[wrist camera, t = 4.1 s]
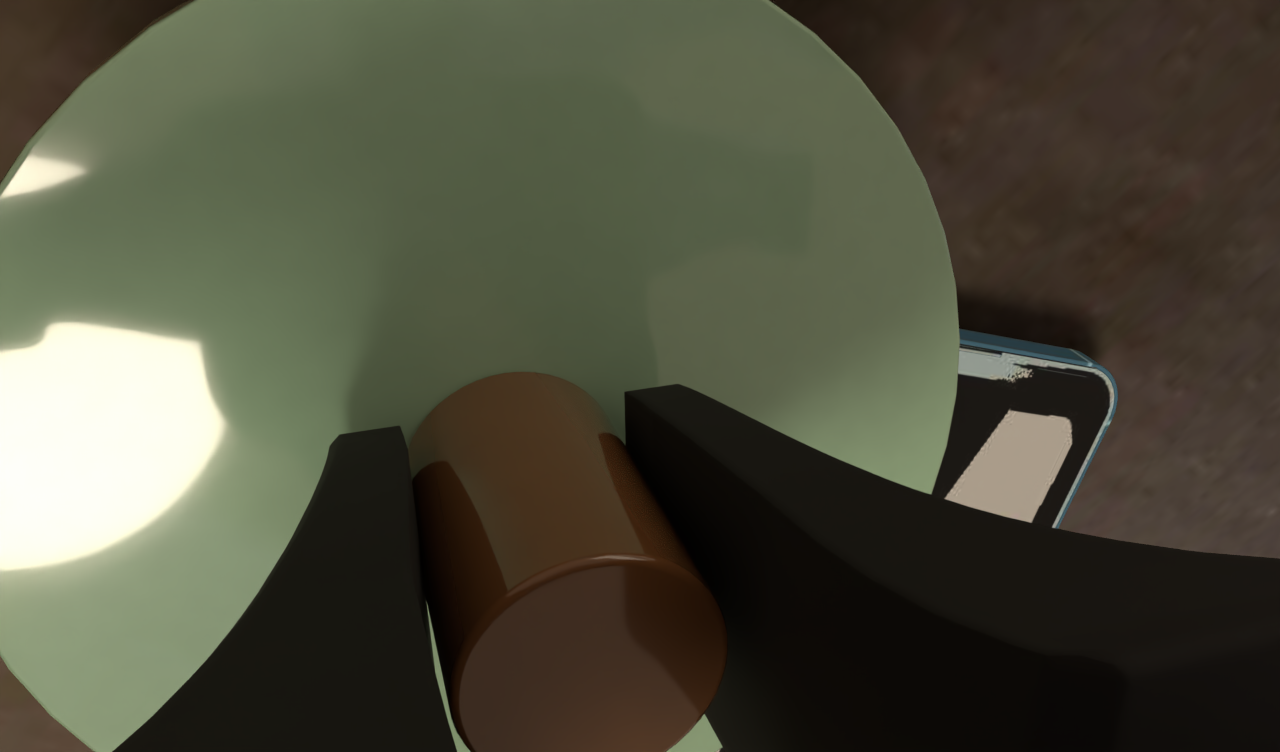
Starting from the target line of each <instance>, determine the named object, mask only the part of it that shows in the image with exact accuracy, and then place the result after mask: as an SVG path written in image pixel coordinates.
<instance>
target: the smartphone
mask: <svg viewBox="0 0 1280 752" xmlns="http://www.w3.org/2000/svg"><path fill="white" fill-rule="evenodd" d="M959 335H960V347H959V364H958V380H957V395H956V400H955V405H954V411H953V416H952V421H951V426H950V432H949V437H948V442H947V447H946V450H945V453H944V456H943V460H942V463H941V466H940V469H939V472H938V475H937V479H936V482H935V485H934V488H933V491H932V494H931V495H934V496H937V497H940V498H943V499H946V500H950V501H953V502H956V503H959V504H962V505H965V506H968V507H972V508H975V509H979V510H982V511H986V512H990V513H994V514H997V515H1001V516H1005V517H1009V518H1013V519H1017V520H1022V521H1026V522H1030V523H1035V524H1039V525H1043V526H1048V527H1052V528H1056V529H1058V528H1059V526H1060V523H1061V521H1062V519H1063V517H1064V515H1065V513H1066V511H1067V509H1068V507H1069V505H1070V503H1071V501H1072V499H1073V497H1074V495H1075V493H1076V491H1077V489H1078V487H1079V485H1080V483H1081V481H1082V479H1083V477H1084V475H1085V473H1086V471H1087V469H1088V467H1089V465H1090V463H1091V461H1092V459H1093V457H1094V455H1095V453H1096V451H1097V449H1098V447H1099V445H1100V443H1101V441H1102V438H1103V436H1104V434H1105V432H1106V430H1107V428H1108V426H1109V424H1110V422H1111V420H1112V418H1113V416H1114V413H1115V410H1116V406H1117V398H1118V393H1117V386H1116V383H1115V380H1114V378H1113V376H1112V375H1111V373H1110V372H1109V371H1108V370H1107V369H1106V368H1104V367H1103V366H1101V365H1100V364H1098V363H1097V362H1095V361H1094V360H1092V359H1091V358H1089V357H1088V356H1086V355H1085V354H1083V353H1081V352H1080V351H1076V350H1073V349H1068V348H1063V347H1058V346H1052V345H1047V344H1041V343H1036V342H1030V341H1025V340H1019V339H1014V338H1008V337H1003V336H997V335H992V334H986V333H981V332H975V331H970V330H964V329H959ZM717 752H725V750H724V749H723V748H721V749H720V750H718V751H717Z"/></svg>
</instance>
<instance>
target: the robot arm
mask: <svg viewBox="0 0 1280 752" xmlns="http://www.w3.org/2000/svg"><path fill="white" fill-rule="evenodd" d="M624 399H625V442H626V448H627V449H628V451H629V453H630V454H631V456H632V458H633V459H634V461H635V463H636V464H637V466H638V468H639V469H640V471H641V473H642V475H643V476H644V478H645V480H646V481H647V483H648V485H649V486H650V488H651V490H652V491H653V493H654V495H655V496H656V498H657V500H658V501H659V503H660V505H661V506H662V508H663V510H664V512H665V513H666V515H667V517H668V518H669V520H670V522H671V523H672V525H673V527H674V528H675V530H676V532H677V533H678V535H679V537H680V538H681V540H682V542H683V543H684V545H685V547H686V549H687V550H688V552H689V554H690V555H691V557H692V559H693V560H694V562H695V564H696V565H697V567H698V569H699V570H700V572H701V574H702V575H703V577H704V579H705V580H706V582H707V584H708V585H709V587H710V589H711V591H712V592H713V594H714V596H715V597H716V599H717V601H718V602H719V604H720V607H721V609H722V612H723V614H724V617H725V621H726V626H727V632H728V654H727V664H726V668H725V672H724V676H723V679H722V682H721V684H720V687H719V689H718V692H717V694H716V695H715V697H714V699H713V701H712V703H711V705H710V706H709V708H708V709H707V711H706V712H705V713H704V714H705V716H706V718H707V719H708V721H709V723H710V725H711V727H712V729H713V730H714V732H715V734H716V736H717V738H718V739H719V741H720V743H721V745H722V747H723V749H724V750H725V752H1280V559H1277V558H1265V557H1252V556H1240V555H1228V554H1216V553H1203V552H1195V551H1187V550H1180V549H1173V548H1166V547H1159V546H1152V545H1145V544H1139V543H1132V542H1125V541H1118V540H1113V539H1107V538H1102V537H1096V536H1091V535H1085V534H1080V533H1075V532H1070V531H1065V530H1061V529H1056V528H1052V527H1048V526H1043V525H1039V524H1035V523H1030V522H1026V521H1022V520H1017V519H1013V518H1009V517H1005V516H1001V515H997V514H994V513H990V512H986V511H982V510H979V509H975V508H972V507H968V506H965V505H962V504H959V503H956V502H953V501H950V500H946V499H943V498H940V497H937V496H934V495H931V494H928V493H925V492H921V491H918V490H915V489H912V488H910V487H907V486H904V485H901V484H899V483H896V482H893V481H890V480H888V479H885V478H883V477H880V476H878V475H875V474H873V473H871V472H868V471H866V470H863V469H861V468H858V467H856V466H854V465H851V464H849V463H846V462H844V461H841V460H839V459H837V458H835V457H832V456H830V455H828V454H826V453H823V452H821V451H819V450H817V449H815V448H812V447H810V446H808V445H806V444H804V443H802V442H800V441H797V440H795V439H793V438H791V437H789V436H787V435H785V434H783V433H781V432H779V431H777V430H775V429H773V428H771V427H769V426H767V425H765V424H763V423H761V422H759V421H757V420H755V419H753V418H751V417H749V416H747V415H745V414H743V413H741V412H739V411H737V410H735V409H733V408H731V407H729V406H727V405H725V404H723V403H721V402H719V401H717V400H715V399H713V398H711V397H709V396H707V395H704V394H702V393H700V392H698V391H696V390H693V389H691V388H688V387H686V386H683V385H680V384H673V385H666V386H659V387H653V388H646V389H639V390H633V391H626V392H624ZM112 752H457V749H456V746H455V743H454V739H453V736H452V732H451V729H450V726H449V722H448V719H447V715H446V711H445V708H444V704H443V700H442V696H441V692H440V689H439V685H438V681H437V677H436V674H435V665H434V657H433V649H432V641H431V633H430V625H429V617H428V609H427V600H426V596H425V591H424V586H423V578H422V568H421V556H420V544H419V535H418V527H417V519H416V511H415V503H414V495H413V487H412V479H411V470H410V462H409V454H408V448H407V445H406V442H405V438H404V435H403V433H402V430H401V427H400V425H399V426H392V427H386V428H379V429H372V430H366V431H359V432H352V433H346V434H339V435H338V437H337V438H336V439H335V440H334V441H333V442H332V444H331V445H330V446H329V451H328V456H327V459H326V462H325V466H324V469H323V471H322V474H321V477H320V479H319V482H318V484H317V486H316V489H315V491H314V493H313V496H312V498H311V500H310V502H309V504H308V506H307V508H306V510H305V512H304V514H303V516H302V518H301V520H300V522H299V524H298V526H297V528H296V530H295V532H294V534H293V536H292V538H291V539H290V541H289V543H288V545H287V547H286V548H285V550H284V552H283V553H282V555H281V556H280V558H279V560H278V561H277V563H276V564H275V566H274V568H273V569H272V571H271V572H270V574H269V576H268V577H267V579H266V580H265V582H264V584H263V585H262V587H261V588H260V590H259V592H258V593H257V595H256V596H255V598H254V599H253V600H252V602H251V603H250V605H249V606H248V607H247V609H246V610H245V612H244V613H243V614H242V616H241V617H240V618H239V620H238V621H237V622H236V624H235V625H234V626H233V628H232V629H231V630H230V632H229V633H228V634H227V635H226V636H225V638H224V639H223V640H222V641H221V643H220V644H219V645H218V646H217V648H216V649H215V650H214V651H213V653H212V654H211V655H210V656H209V657H208V659H207V660H206V661H205V662H204V663H203V664H202V665H201V666H200V667H199V669H198V670H197V671H196V672H195V673H194V674H193V675H192V676H191V677H190V678H189V679H188V680H187V681H186V682H185V683H184V684H183V685H182V686H181V687H180V688H179V689H178V690H177V691H176V693H175V694H174V695H173V696H172V697H171V698H170V699H169V700H168V701H167V702H166V703H165V704H164V705H163V706H162V707H161V708H160V709H159V710H158V711H157V712H156V713H155V714H154V715H153V716H152V717H151V718H150V719H149V720H147V721H146V722H145V723H144V724H143V725H142V726H141V727H140V728H139V729H137V730H136V731H135V732H134V733H133V734H132V735H131V736H129V737H128V738H127V739H126V740H125V741H124V742H123V743H121V744H120V745H119V746H118V747H117V748H116V749H115V750H113V751H112Z"/></svg>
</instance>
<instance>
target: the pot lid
mask: <svg viewBox="0 0 1280 752" xmlns="http://www.w3.org/2000/svg"><path fill="white" fill-rule="evenodd" d="M959 347H960V335H959V320H958V306H957V292H956V284H955V279H954V274H953V269H952V265H951V260H950V255H949V250H948V246H947V241H946V236H945V232H944V229H943V226H942V224H941V221H940V218H939V215H938V213H937V210H936V207H935V204H934V202H933V199H932V196H931V193H930V191H929V188H928V185H927V182H926V180H925V177H924V175H923V173H922V172H921V170H920V168H919V166H918V164H917V162H916V160H915V159H914V157H913V155H912V153H911V151H910V149H909V148H908V146H907V144H906V142H905V140H904V138H903V136H902V135H901V133H900V131H899V129H898V127H897V125H896V124H895V123H894V121H893V120H892V119H891V117H890V116H889V115H888V114H887V112H886V111H885V110H884V108H883V107H882V106H881V104H880V103H879V102H878V100H877V99H876V98H875V96H874V95H873V94H872V92H871V91H870V90H869V88H868V87H867V86H866V84H865V83H864V82H863V80H862V79H861V78H860V76H858V75H857V74H856V73H855V72H854V71H853V70H852V69H851V68H850V67H849V66H848V65H847V64H846V63H845V62H844V61H843V60H842V59H841V58H840V57H839V56H838V55H837V54H836V53H835V52H834V51H833V50H832V49H831V48H830V47H829V46H828V45H827V44H826V43H825V42H824V41H823V40H822V39H821V38H820V37H819V36H818V35H816V34H815V33H814V32H813V31H812V30H810V29H809V28H808V27H806V26H805V25H803V24H802V23H801V22H799V21H798V20H796V19H795V18H794V17H792V16H791V15H790V14H788V13H787V12H785V11H784V10H783V9H781V8H780V7H778V6H777V5H776V4H774V3H773V2H771V1H770V0H188V1H186V2H184V3H183V4H181V5H179V6H178V7H176V8H174V9H172V10H171V11H169V12H167V13H166V14H164V15H162V16H161V17H159V18H157V19H156V20H154V21H153V22H151V23H150V24H149V25H148V26H146V27H145V28H144V29H143V30H141V31H140V32H139V33H138V34H136V35H135V36H134V37H133V38H132V39H130V40H129V41H128V42H127V43H125V44H124V45H123V46H122V47H120V48H119V49H118V50H117V51H115V52H114V53H113V54H112V55H111V56H109V57H108V58H107V59H106V60H104V61H103V62H102V63H101V64H99V65H98V66H97V67H96V68H94V69H93V70H92V71H91V72H90V73H89V74H88V75H87V76H86V77H85V78H84V79H83V80H82V81H81V82H80V83H79V85H78V86H77V87H76V88H75V89H74V90H73V91H72V92H71V93H70V94H69V96H68V97H67V98H66V99H65V100H64V101H63V102H62V103H61V104H60V105H59V107H58V108H57V109H56V110H55V111H54V112H53V113H52V114H51V115H50V116H49V117H48V119H47V120H46V121H45V122H44V123H43V124H42V125H41V126H40V127H39V128H38V130H37V131H36V132H35V133H34V134H33V135H32V137H31V138H30V139H29V140H28V142H27V143H26V145H25V146H24V148H23V149H22V151H21V152H20V154H19V155H18V157H17V158H16V160H15V161H14V163H13V164H12V166H11V167H10V169H9V170H8V172H7V173H6V175H5V176H4V178H3V179H2V181H1V182H0V656H1V658H2V659H3V661H4V662H5V664H6V665H7V667H8V668H9V670H10V671H11V672H12V673H13V674H14V675H15V677H16V678H17V679H18V680H19V681H20V682H21V683H22V684H23V685H24V687H25V688H26V689H27V690H28V691H29V692H30V693H31V694H32V695H33V697H34V698H35V699H36V700H37V701H38V702H39V703H40V704H41V705H42V706H43V708H44V709H45V710H46V711H47V712H48V713H49V714H50V715H51V716H52V717H53V718H54V719H55V720H57V721H58V722H59V723H60V724H61V725H63V726H64V727H65V728H66V729H67V730H69V731H70V732H71V733H72V734H73V735H75V736H76V737H77V738H78V739H79V740H81V741H82V742H83V743H84V744H85V745H87V746H88V747H89V748H90V749H91V750H93V751H94V752H112V751H113V750H115V749H116V748H117V747H118V746H119V745H120V744H121V743H123V742H124V741H125V740H126V739H127V738H128V737H129V736H131V735H132V734H133V733H134V732H135V731H136V730H137V729H139V728H140V727H141V726H142V725H143V724H144V723H145V722H146V721H147V720H149V719H150V718H151V717H152V716H153V715H154V714H155V713H156V712H157V711H158V710H159V709H160V708H161V707H162V706H163V705H164V704H165V703H166V702H167V701H168V700H169V699H170V698H171V697H172V696H173V695H174V694H175V693H176V691H177V690H178V689H179V688H180V687H181V686H182V685H183V684H184V683H185V682H186V681H187V680H188V679H189V678H190V677H191V676H192V675H193V674H194V673H195V672H196V671H197V670H198V669H199V667H200V666H201V665H202V664H203V663H204V662H205V661H206V660H207V659H208V657H209V656H210V655H211V654H212V653H213V651H214V650H215V649H216V648H217V646H218V645H219V644H220V643H221V641H222V640H223V639H224V638H225V636H226V635H227V634H228V633H229V632H230V630H231V629H232V628H233V626H234V625H235V624H236V622H237V621H238V620H239V618H240V617H241V616H242V614H243V613H244V612H245V610H246V609H247V607H248V606H249V605H250V603H251V602H252V600H253V599H254V598H255V596H256V595H257V593H258V592H259V590H260V588H261V587H262V585H263V584H264V582H265V580H266V579H267V577H268V576H269V574H270V572H271V571H272V569H273V568H274V566H275V564H276V563H277V561H278V560H279V558H280V556H281V555H282V553H283V552H284V550H285V548H286V547H287V545H288V543H289V541H290V539H291V538H292V536H293V534H294V532H295V530H296V528H297V526H298V524H299V522H300V520H301V518H302V516H303V514H304V512H305V510H306V508H307V506H308V504H309V502H310V500H311V498H312V496H313V493H314V491H315V489H316V486H317V484H318V482H319V479H320V477H321V474H322V471H323V469H324V466H325V462H326V459H327V456H328V451H329V446H330V445H331V444H332V442H333V441H334V440H335V439H336V438H337V437H338V435H339V434H346V433H352V432H359V431H366V430H372V429H379V428H386V427H392V426H399V425H400V427H401V430H402V433H403V435H404V438H405V442H406V445H407V448H408V454H409V462H410V470H411V479H412V487H413V495H414V503H415V511H416V519H417V527H418V535H419V544H420V556H421V568H422V578H423V586H424V591H425V596H426V600H427V609H428V617H429V625H430V633H431V641H432V649H433V657H434V665H435V674H436V677H437V681H438V685H439V689H440V692H441V696H442V700H443V704H444V708H445V711H446V715H447V719H448V722H449V726H450V729H451V732H452V736H453V739H454V743H455V746H456V749H457V752H717V751H718V750H720V749H721V748H723V747H722V745H721V743H720V741H719V739H718V738H717V736H716V734H715V732H714V730H713V729H712V727H711V725H710V723H709V721H708V719H707V718H706V716H705V714H704V713H705V712H706V711H707V709H708V708H709V706H710V705H711V703H712V701H713V699H714V697H715V695H716V694H717V692H718V689H719V687H720V684H721V682H722V679H723V676H724V672H725V668H726V664H727V654H728V632H727V626H726V621H725V617H724V614H723V612H722V609H721V607H720V604H719V602H718V601H717V599H716V597H715V596H714V594H713V592H712V591H711V589H710V587H709V585H708V584H707V582H706V580H705V579H704V577H703V575H702V574H701V572H700V570H699V569H698V567H697V565H696V564H695V562H694V560H693V559H692V557H691V555H690V554H689V552H688V550H687V549H686V547H685V545H684V543H683V542H682V540H681V538H680V537H679V535H678V533H677V532H676V530H675V528H674V527H673V525H672V523H671V522H670V520H669V518H668V517H667V515H666V513H665V512H664V510H663V508H662V506H661V505H660V503H659V501H658V500H657V498H656V496H655V495H654V493H653V491H652V490H651V488H650V486H649V485H648V483H647V481H646V480H645V478H644V476H643V475H642V473H641V471H640V469H639V468H638V466H637V464H636V463H635V461H634V459H633V458H632V456H631V454H630V453H629V451H628V449H627V448H626V442H625V399H624V392H626V391H633V390H639V389H646V388H653V387H659V386H666V385H673V384H680V385H683V386H686V387H688V388H691V389H693V390H696V391H698V392H700V393H702V394H704V395H707V396H709V397H711V398H713V399H715V400H717V401H719V402H721V403H723V404H725V405H727V406H729V407H731V408H733V409H735V410H737V411H739V412H741V413H743V414H745V415H747V416H749V417H751V418H753V419H755V420H757V421H759V422H761V423H763V424H765V425H767V426H769V427H771V428H773V429H775V430H777V431H779V432H781V433H783V434H785V435H787V436H789V437H791V438H793V439H795V440H797V441H800V442H802V443H804V444H806V445H808V446H810V447H812V448H815V449H817V450H819V451H821V452H823V453H826V454H828V455H830V456H832V457H835V458H837V459H839V460H841V461H844V462H846V463H849V464H851V465H854V466H856V467H858V468H861V469H863V470H866V471H868V472H871V473H873V474H875V475H878V476H880V477H883V478H885V479H888V480H890V481H893V482H896V483H899V484H901V485H904V486H907V487H910V488H912V489H915V490H918V491H921V492H925V493H928V494H932V491H933V488H934V485H935V482H936V479H937V475H938V472H939V469H940V466H941V463H942V460H943V456H944V453H945V450H946V447H947V442H948V437H949V432H950V426H951V421H952V416H953V411H954V405H955V400H956V395H957V380H958V364H959Z"/></svg>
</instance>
